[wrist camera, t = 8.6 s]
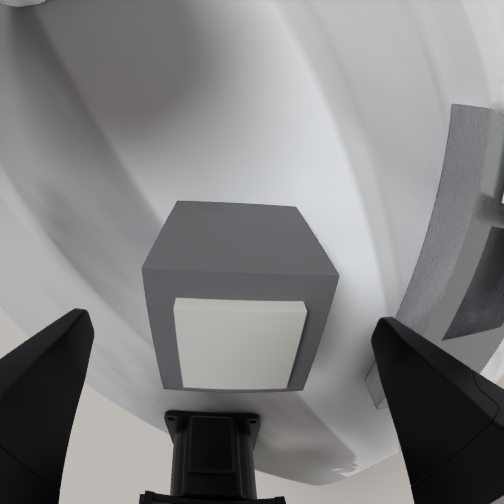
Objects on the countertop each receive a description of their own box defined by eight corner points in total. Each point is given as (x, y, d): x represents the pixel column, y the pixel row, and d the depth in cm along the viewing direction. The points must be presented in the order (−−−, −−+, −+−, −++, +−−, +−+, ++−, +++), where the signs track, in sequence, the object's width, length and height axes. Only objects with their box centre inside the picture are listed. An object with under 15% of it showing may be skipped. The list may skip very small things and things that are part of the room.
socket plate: (461, 359, 18) (475, 379, 15) (364, 380, 17) (376, 409, 14) (540, 157, 10) (566, 168, 8) (452, 103, 9) (490, 108, 7)
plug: (280, 301, 13) (304, 399, 8) (181, 298, 12) (162, 398, 8) (295, 206, 11) (345, 284, 6) (177, 200, 10) (137, 277, 6)
